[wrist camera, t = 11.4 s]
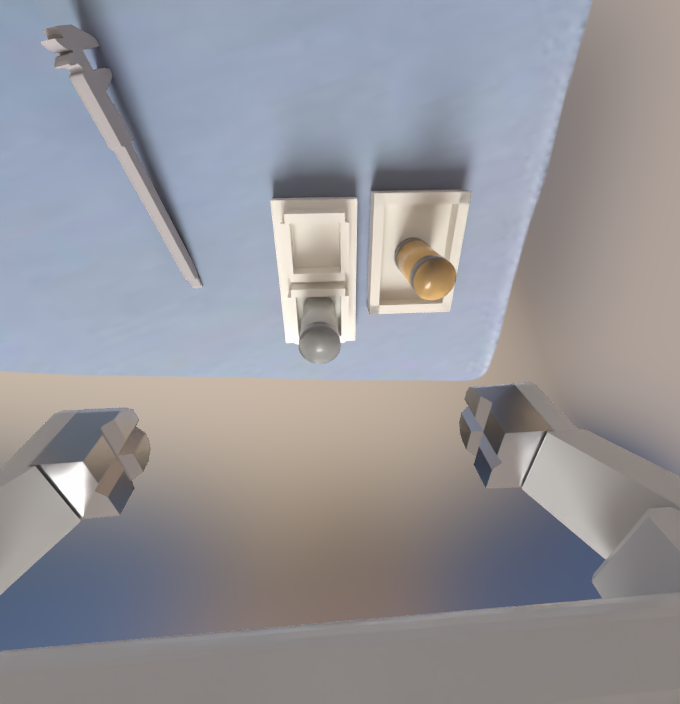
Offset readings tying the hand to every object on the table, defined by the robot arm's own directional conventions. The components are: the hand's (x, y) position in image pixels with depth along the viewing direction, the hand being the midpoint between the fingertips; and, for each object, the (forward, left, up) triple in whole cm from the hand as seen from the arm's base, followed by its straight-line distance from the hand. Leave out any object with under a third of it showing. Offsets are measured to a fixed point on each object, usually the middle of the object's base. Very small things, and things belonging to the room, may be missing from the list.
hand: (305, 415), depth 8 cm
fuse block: (+5, 0, -29) cm, 29 cm away
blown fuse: (+4, +10, -28) cm, 30 cm away
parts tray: (+3, +10, -29) cm, 31 cm away
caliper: (-3, -15, -29) cm, 33 cm away
